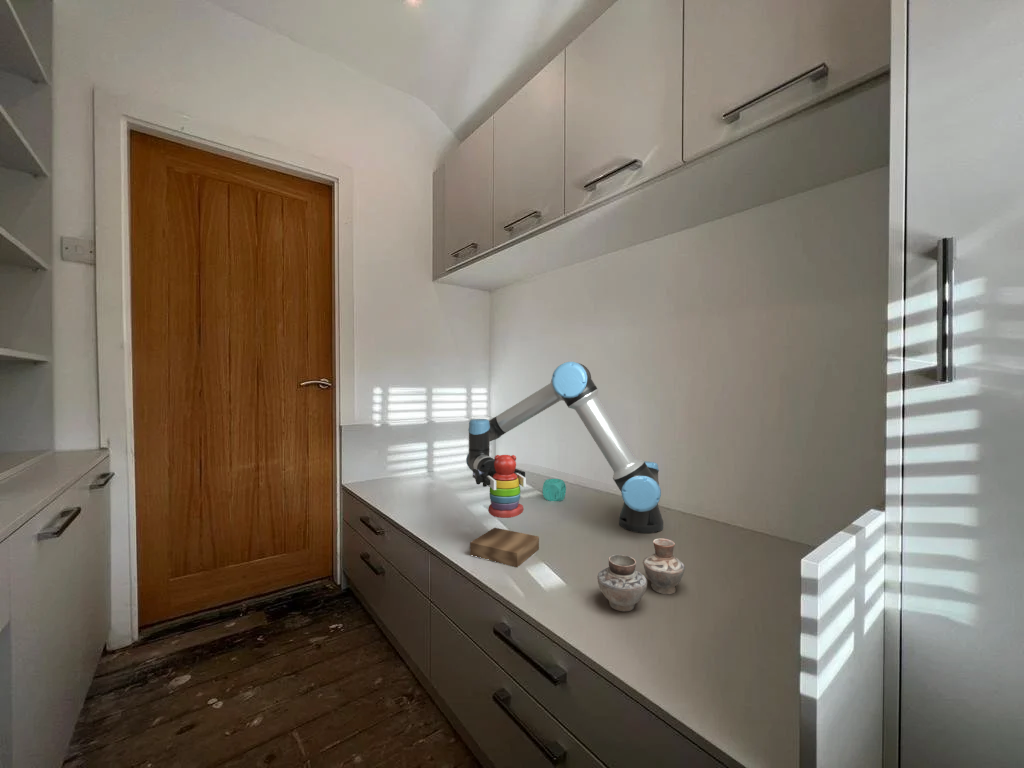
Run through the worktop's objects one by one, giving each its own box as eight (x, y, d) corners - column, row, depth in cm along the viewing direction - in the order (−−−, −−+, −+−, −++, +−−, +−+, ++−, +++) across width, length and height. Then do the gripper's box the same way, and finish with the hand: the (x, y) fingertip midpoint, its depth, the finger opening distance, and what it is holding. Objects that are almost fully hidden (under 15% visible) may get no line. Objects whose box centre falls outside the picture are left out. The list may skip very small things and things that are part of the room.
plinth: (538, 549, 131) (538, 536, 131) (517, 567, 118) (517, 553, 118) (494, 539, 138) (494, 527, 138) (470, 555, 126) (470, 542, 126)
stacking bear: (524, 508, 133) (524, 451, 133) (521, 519, 123) (521, 458, 122) (490, 507, 134) (489, 451, 134) (484, 518, 124) (484, 457, 123)
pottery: (695, 593, 104) (695, 545, 104) (622, 624, 91) (622, 570, 91) (658, 575, 114) (658, 531, 114) (587, 601, 101) (587, 551, 101)
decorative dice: (542, 500, 182) (542, 482, 181) (548, 495, 189) (548, 477, 189) (560, 502, 178) (560, 484, 178) (566, 497, 185) (566, 479, 185)
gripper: (516, 476, 149) (543, 493, 128) (456, 481, 141) (474, 500, 120) (516, 454, 149) (543, 468, 127) (456, 459, 141) (474, 474, 120)
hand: (510, 483), depth 124 cm, fingers closed on stacking bear, 9 cm apart
